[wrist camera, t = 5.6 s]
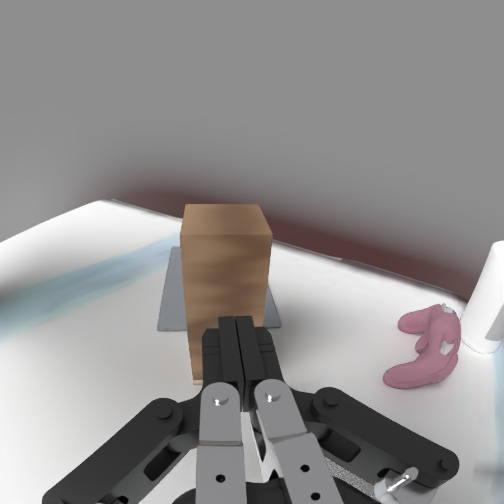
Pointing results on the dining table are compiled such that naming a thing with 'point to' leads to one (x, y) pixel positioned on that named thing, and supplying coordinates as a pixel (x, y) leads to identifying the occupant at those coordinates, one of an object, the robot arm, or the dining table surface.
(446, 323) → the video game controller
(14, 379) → the dining table surface
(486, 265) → the spray bottle
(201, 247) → the walnut block
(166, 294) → the rubber mat
